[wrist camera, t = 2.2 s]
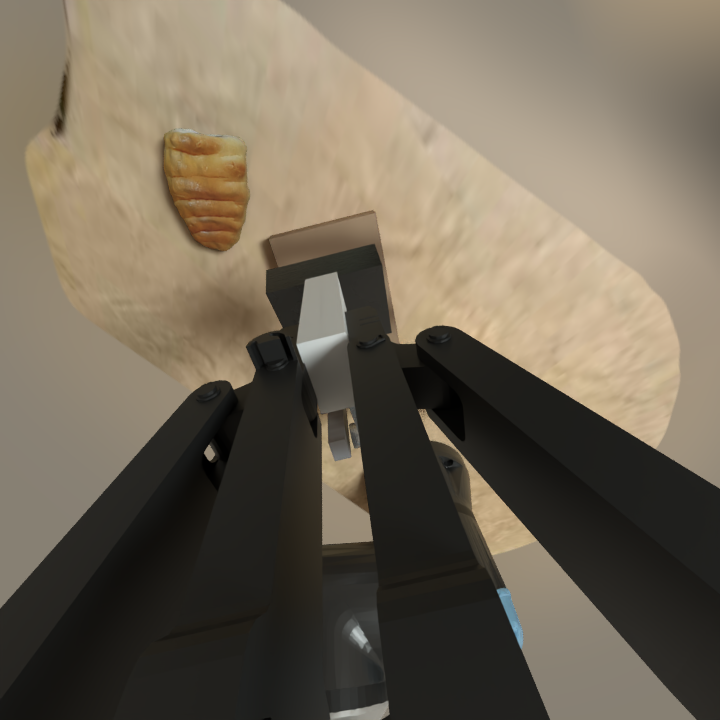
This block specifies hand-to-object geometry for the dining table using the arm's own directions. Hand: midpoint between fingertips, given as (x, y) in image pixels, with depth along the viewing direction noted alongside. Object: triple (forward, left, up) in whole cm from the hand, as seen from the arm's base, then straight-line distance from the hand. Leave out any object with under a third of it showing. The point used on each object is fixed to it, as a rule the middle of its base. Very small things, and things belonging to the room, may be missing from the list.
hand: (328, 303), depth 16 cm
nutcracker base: (-9, 0, -20) cm, 22 cm away
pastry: (+6, +8, -20) cm, 23 cm away
